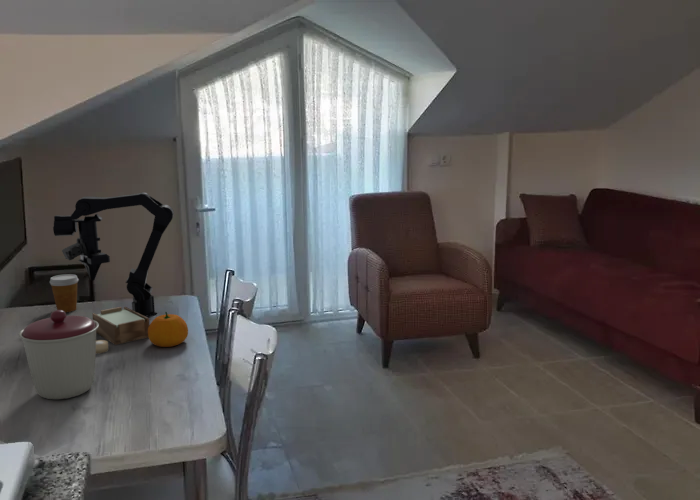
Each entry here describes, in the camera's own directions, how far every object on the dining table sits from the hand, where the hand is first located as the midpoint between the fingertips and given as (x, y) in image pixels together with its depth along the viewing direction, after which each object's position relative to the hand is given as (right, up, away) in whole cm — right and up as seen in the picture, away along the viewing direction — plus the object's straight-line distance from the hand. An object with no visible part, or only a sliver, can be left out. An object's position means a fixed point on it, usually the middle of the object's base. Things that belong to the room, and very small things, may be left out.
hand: (92, 280), depth 230 cm
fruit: (+32, -18, -24) cm, 44 cm away
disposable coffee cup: (-14, -11, +12) cm, 21 cm away
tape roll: (+14, -19, -30) cm, 38 cm away
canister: (+16, -25, -59) cm, 67 cm away
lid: (+15, -11, -17) cm, 25 cm away
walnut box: (+15, -16, -16) cm, 27 cm away
